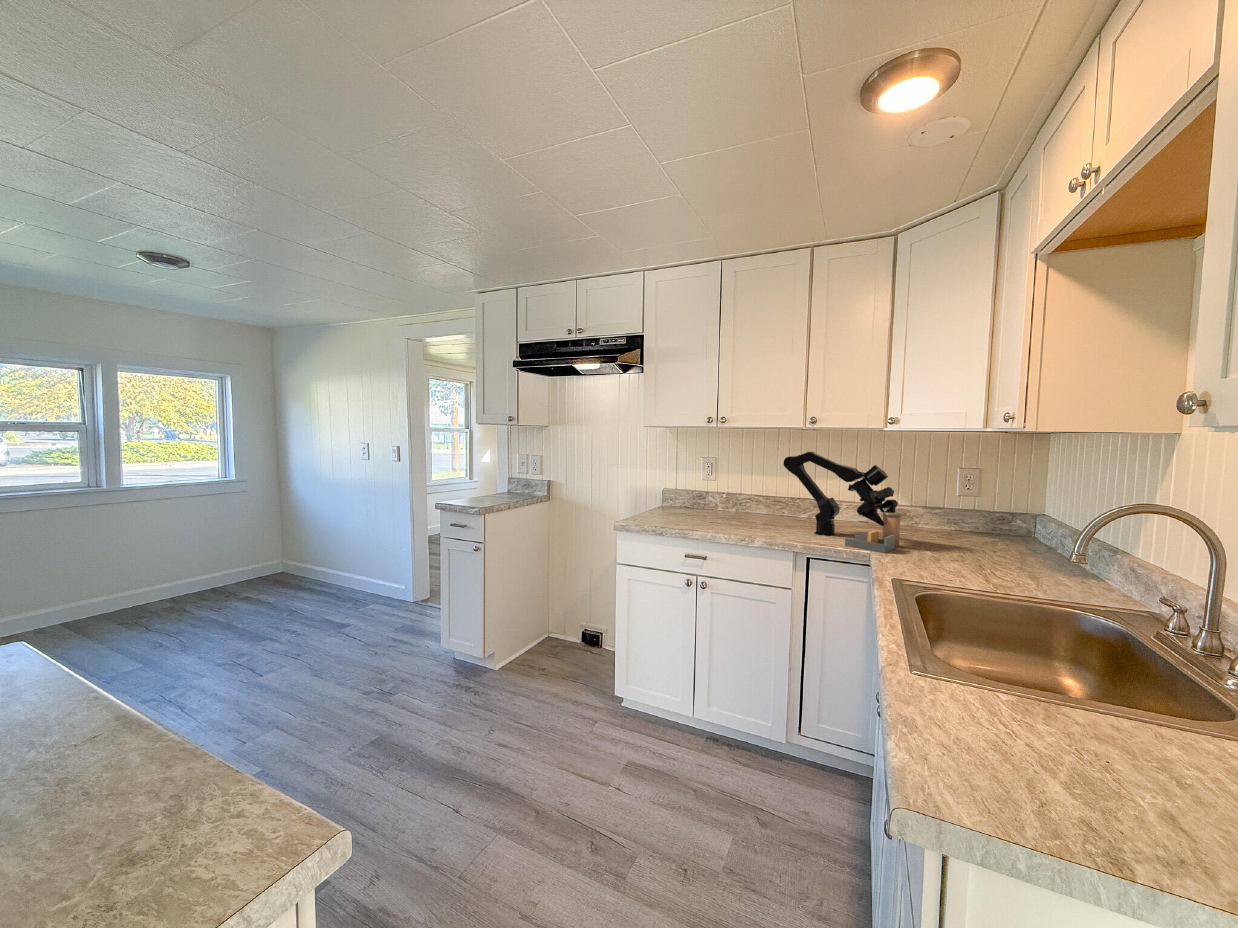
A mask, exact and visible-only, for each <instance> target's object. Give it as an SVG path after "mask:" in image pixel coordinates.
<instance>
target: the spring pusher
mask: <svg viewBox="0 0 1238 928" xmlns="http://www.w3.org/2000/svg"><path fill="white" fill-rule="evenodd" d="M879 532H880V530H877V529H876V530H875V529H874V530H872V531H869V532H867V537H868V541H867V542H873V543H878V538H879V534H880V533H879Z"/></svg>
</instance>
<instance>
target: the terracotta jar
mask: <svg viewBox="0 0 1238 928" xmlns="http://www.w3.org/2000/svg"><path fill="white" fill-rule="evenodd" d="M901 519H902V513H901V512H882V521H883V522H884V526H882V531H881V539H884V538H885V537H888V536H890V535H895V549H897V548H900V536H901V521H902V520H901Z"/></svg>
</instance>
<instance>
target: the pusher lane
mask: <svg viewBox="0 0 1238 928" xmlns="http://www.w3.org/2000/svg"><path fill="white" fill-rule="evenodd" d="M867 541H868V536H866V535H860V534H859V535H858V534H854V538H850V537H849V538H848V537H845V538H844V546H845V547H848V548H855V549H860V550H865V551H872V552H876V553H882V554H887V553H889V552H891V551H894V550H895V549H896V548H895V535H890V536H888V537H885V538H884V539H882V538H879V537H878V543H873V542H867Z"/></svg>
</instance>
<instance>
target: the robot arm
mask: <svg viewBox="0 0 1238 928" xmlns="http://www.w3.org/2000/svg"><path fill="white" fill-rule="evenodd" d="M809 462H811V463H813V464H815V465H817V466H819V467H822V468H823V469H826V470H827V471H830V472H831V473H834V474H835V475H836V476H837V477H838V478H840V479H841V480H842V481H843V482H846V483H849V484H848V488H847V491H850V492H854V491H855V492H856V494H857V496H859V498H860V499H859V502H862V504H860V505H859V506H858V507H857V508H856V513H857V514H858V515H859V516H862V517H863V518H866V519H868V520H870V521H872V522H874V523H876V524H877V525H880V526H881V527H883V526H884V522H883V518H882V517H881V516H880V514H879V513H878V510H880V512H881V513H883V512H896V509H897V507H898V505H899V502H897V500H896V499H893V498H892V497H894V494H895V490H894V489H893V488H892V487H890V486H887V487H884V488H882V489H880V490H874V488H873V487H872V486H875V487H877V486H878V485H880V484H881V483H882V482H884V481H885V480H887V479H888V478H889V475H888V474H887V473H886V472H885V471H884V470H882V468H880V467H879V466H878V465H876V464H874V465H873V466H871V468H870V469H868V470H867V471H866V472H863V471H859V470H858V468H856V467H852V466H848V465H845V464H841V463H837V462H835V461H833V460H831V459H829V458H826V457H824V456H822V455H820V454H818V453H815V451H806V452H805V453H802V454H799V455H792V456H787V457H785V459H784V460H783V467H784V468H785V469H787V471H788V472H790V473H791V474H792V475H794V476H796V478H797V479H798V480H799V481H800V483H802V485H803V486H804V488H805V489H806V490H807V491H808V493H809V494H810V496H812V498H813V499H814V501H816V502H815V503H816V504H817V508H818V511H819V512H818V513H816V515H815V516H814V517H815V520H816V526H815V527H816V528H815V532H814V534H815V535H820V536H821V535H822V536H827V537H830V536H832V535H836V533H835V527H836V524H835V520H834V519H835V518H836V516H838V515H839V514H840V509H841V508H840V504H839V503H837V502H836V500H835V498H834V497H828V496H826V495H825V493H824V492H823V491H822V490H821V489H820V487H819V486H818V485H817V484H816V482H815V481H814V480H813V478H812V477H811V476H810V474H809V473H808V472H807V470H806V468H805V466H804V464H806V463H809ZM859 479H860V480H859ZM852 482H853V484H850V483H852ZM890 497H891V498H892V499H887V498H890ZM814 534H813V535H814Z"/></svg>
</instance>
